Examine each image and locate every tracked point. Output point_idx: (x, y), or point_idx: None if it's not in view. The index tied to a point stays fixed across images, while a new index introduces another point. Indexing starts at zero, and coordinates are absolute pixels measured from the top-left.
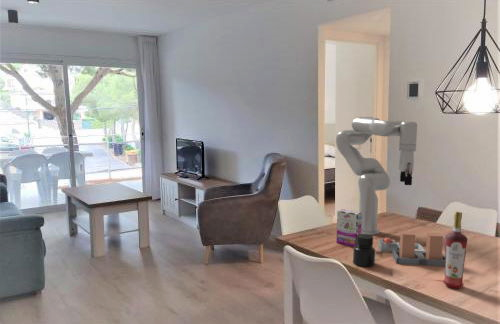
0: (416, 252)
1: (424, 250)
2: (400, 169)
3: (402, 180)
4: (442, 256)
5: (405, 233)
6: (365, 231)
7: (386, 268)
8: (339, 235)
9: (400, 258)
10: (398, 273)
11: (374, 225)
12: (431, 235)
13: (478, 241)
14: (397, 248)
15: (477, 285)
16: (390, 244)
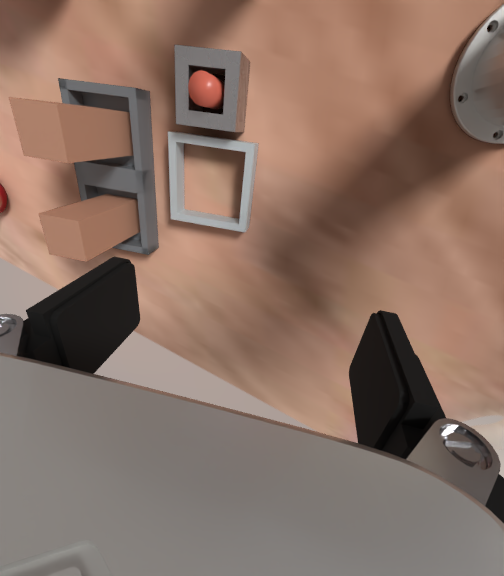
0: (134, 177)
1: (177, 218)
2: (123, 414)
3: (368, 339)
4: (127, 243)
5: (27, 115)
6: (490, 41)
7: (39, 29)
8: None
9: (61, 92)
10: (13, 64)
11: (491, 97)
12: (44, 219)
13: (315, 401)
14: (214, 137)
15: (24, 245)
16: (176, 93)
